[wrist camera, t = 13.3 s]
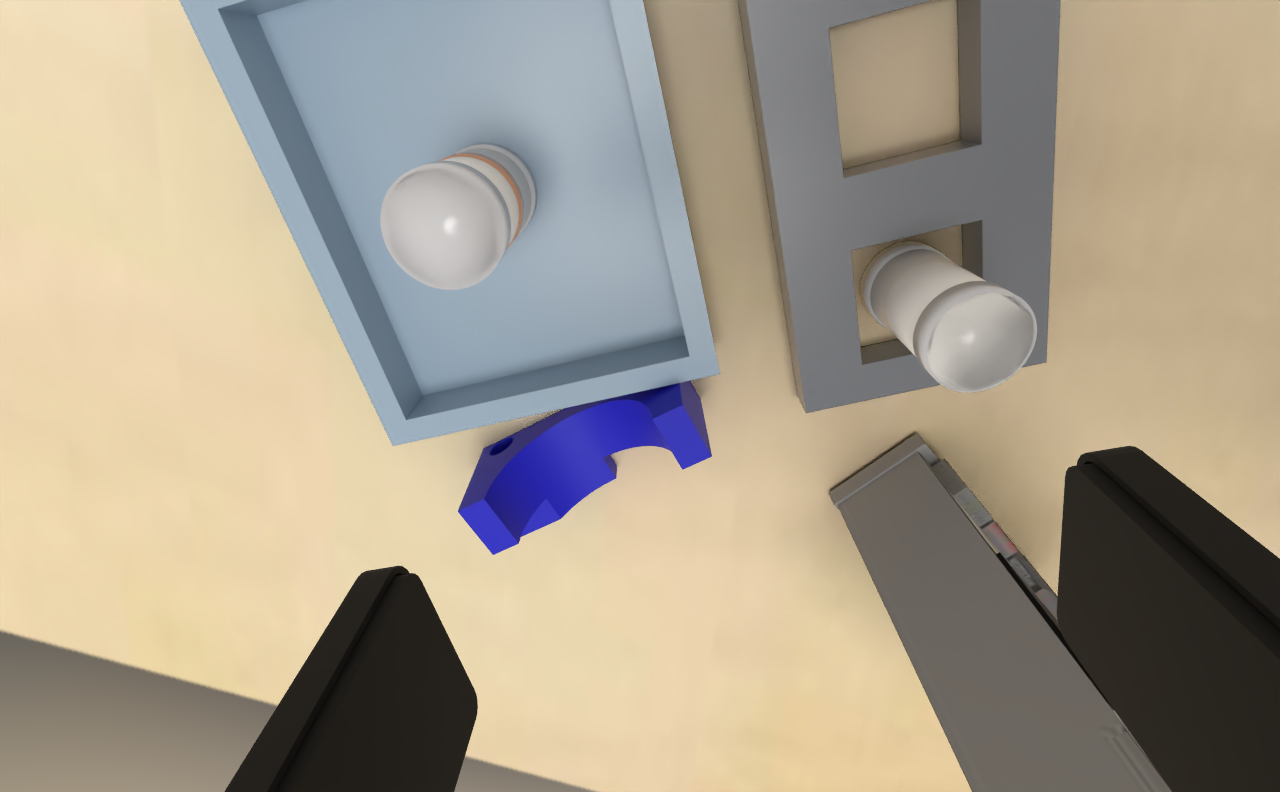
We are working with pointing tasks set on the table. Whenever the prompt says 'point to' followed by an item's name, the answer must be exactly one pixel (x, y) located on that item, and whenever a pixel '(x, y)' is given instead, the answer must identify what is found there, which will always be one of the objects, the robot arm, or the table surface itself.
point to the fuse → (949, 316)
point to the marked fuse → (458, 215)
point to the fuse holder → (901, 179)
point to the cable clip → (575, 459)
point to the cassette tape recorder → (984, 635)
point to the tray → (441, 126)
